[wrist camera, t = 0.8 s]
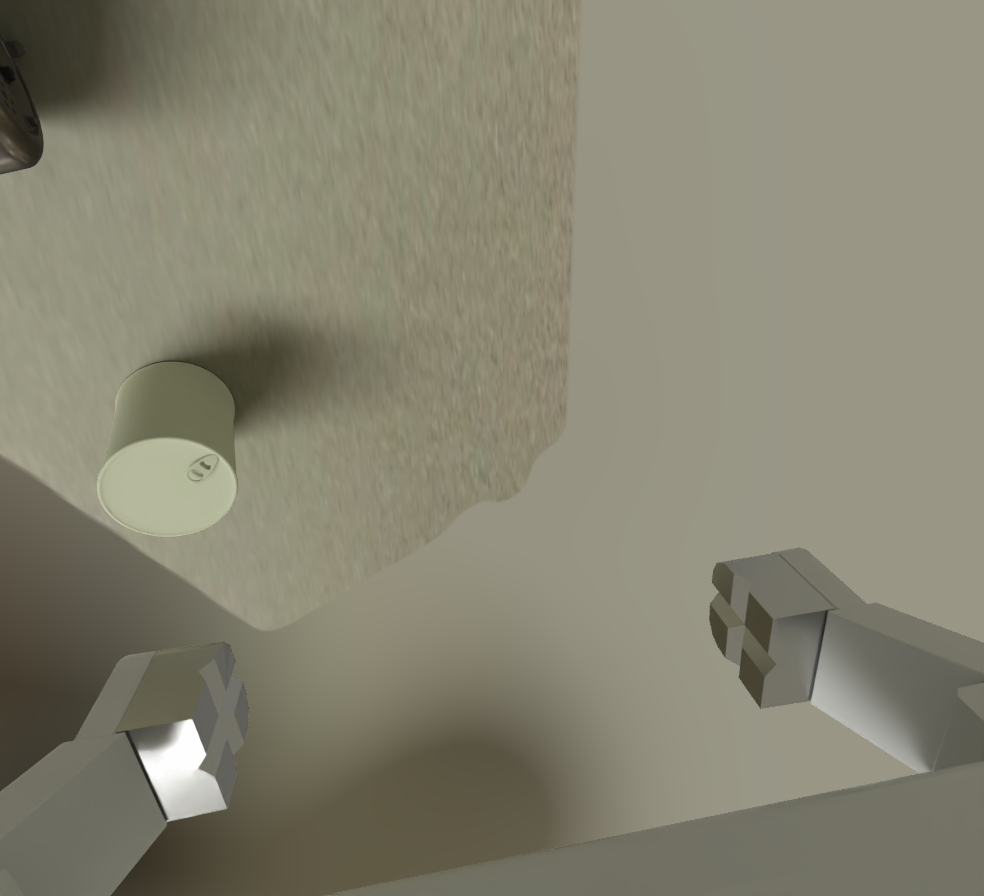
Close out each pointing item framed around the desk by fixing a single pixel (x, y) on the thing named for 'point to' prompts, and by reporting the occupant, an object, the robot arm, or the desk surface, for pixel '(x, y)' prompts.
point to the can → (170, 451)
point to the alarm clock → (17, 115)
